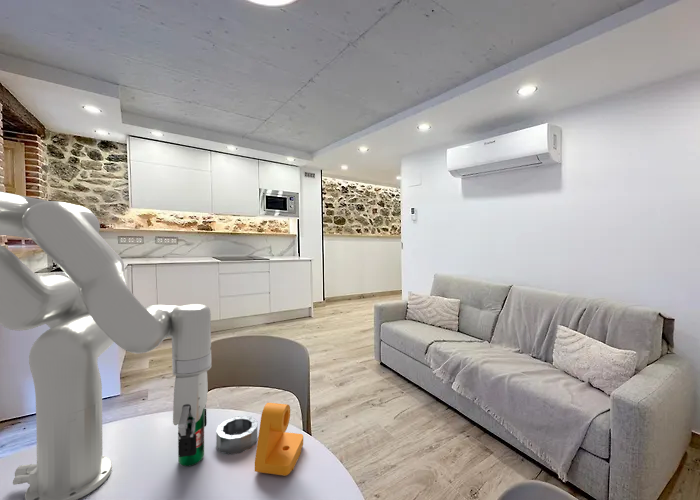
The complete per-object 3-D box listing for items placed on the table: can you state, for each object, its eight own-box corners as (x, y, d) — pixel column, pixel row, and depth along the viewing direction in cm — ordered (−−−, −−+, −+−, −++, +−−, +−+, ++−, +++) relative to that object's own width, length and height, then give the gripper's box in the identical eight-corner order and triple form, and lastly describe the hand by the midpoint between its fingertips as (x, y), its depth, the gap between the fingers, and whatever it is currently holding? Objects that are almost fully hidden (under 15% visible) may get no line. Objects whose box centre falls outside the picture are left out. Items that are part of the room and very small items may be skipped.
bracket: (288, 480, 62) (289, 421, 62) (254, 475, 64) (254, 417, 63) (304, 445, 73) (304, 395, 73) (275, 442, 74) (275, 392, 74)
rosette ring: (213, 456, 69) (213, 441, 69) (220, 432, 78) (220, 418, 77) (256, 450, 71) (256, 435, 71) (258, 427, 80) (258, 414, 80)
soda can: (194, 469, 65) (194, 413, 64) (172, 466, 66) (172, 410, 65) (209, 453, 70) (209, 400, 69) (189, 450, 71) (189, 398, 70)
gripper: (184, 350, 75) (185, 420, 75) (158, 382, 58) (160, 472, 58) (217, 347, 76) (219, 416, 77) (202, 377, 60) (203, 465, 60)
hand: (193, 440), depth 68 cm, fingers open, 9 cm apart
